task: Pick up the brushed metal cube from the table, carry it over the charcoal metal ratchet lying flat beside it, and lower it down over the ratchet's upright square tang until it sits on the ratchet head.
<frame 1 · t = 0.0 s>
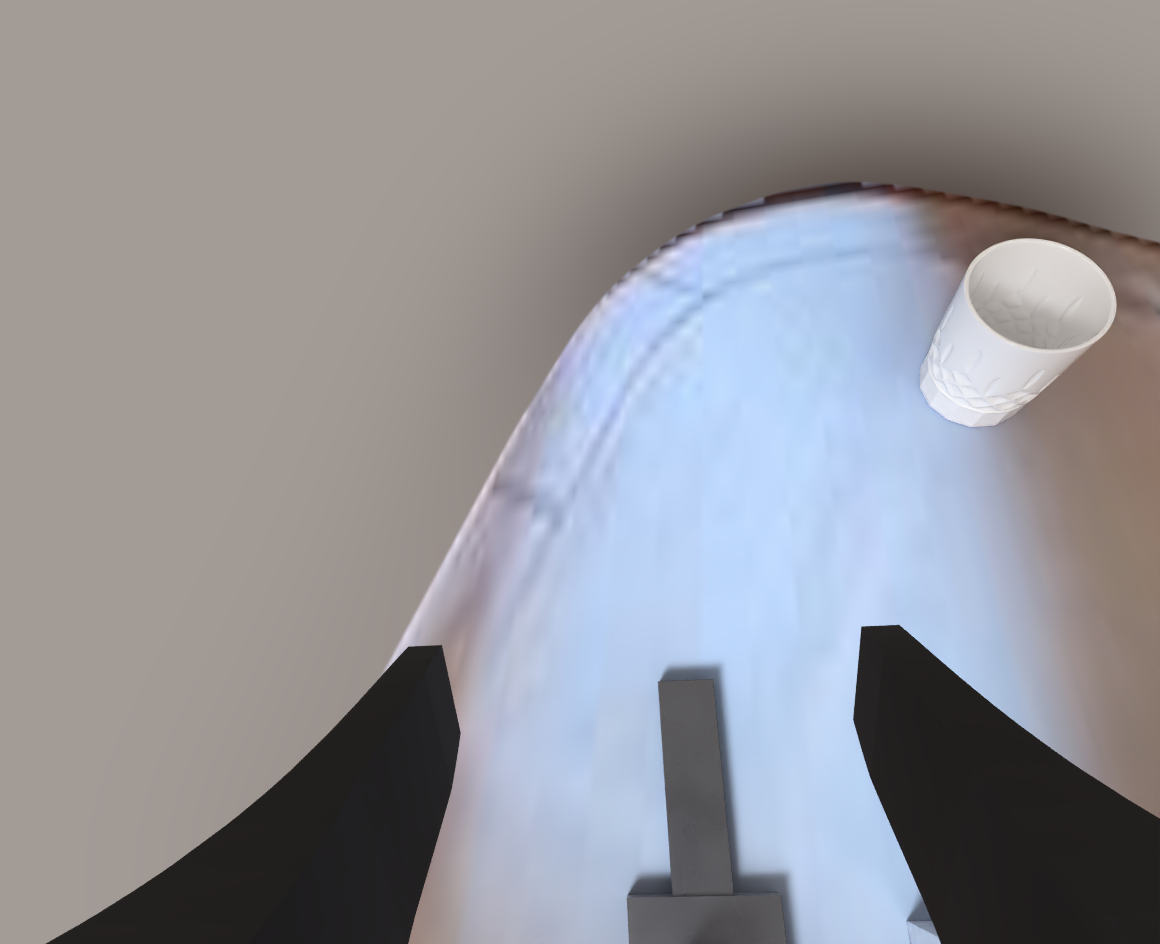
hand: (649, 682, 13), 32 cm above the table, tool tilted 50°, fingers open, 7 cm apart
white cup: (968, 386, 50), on the table
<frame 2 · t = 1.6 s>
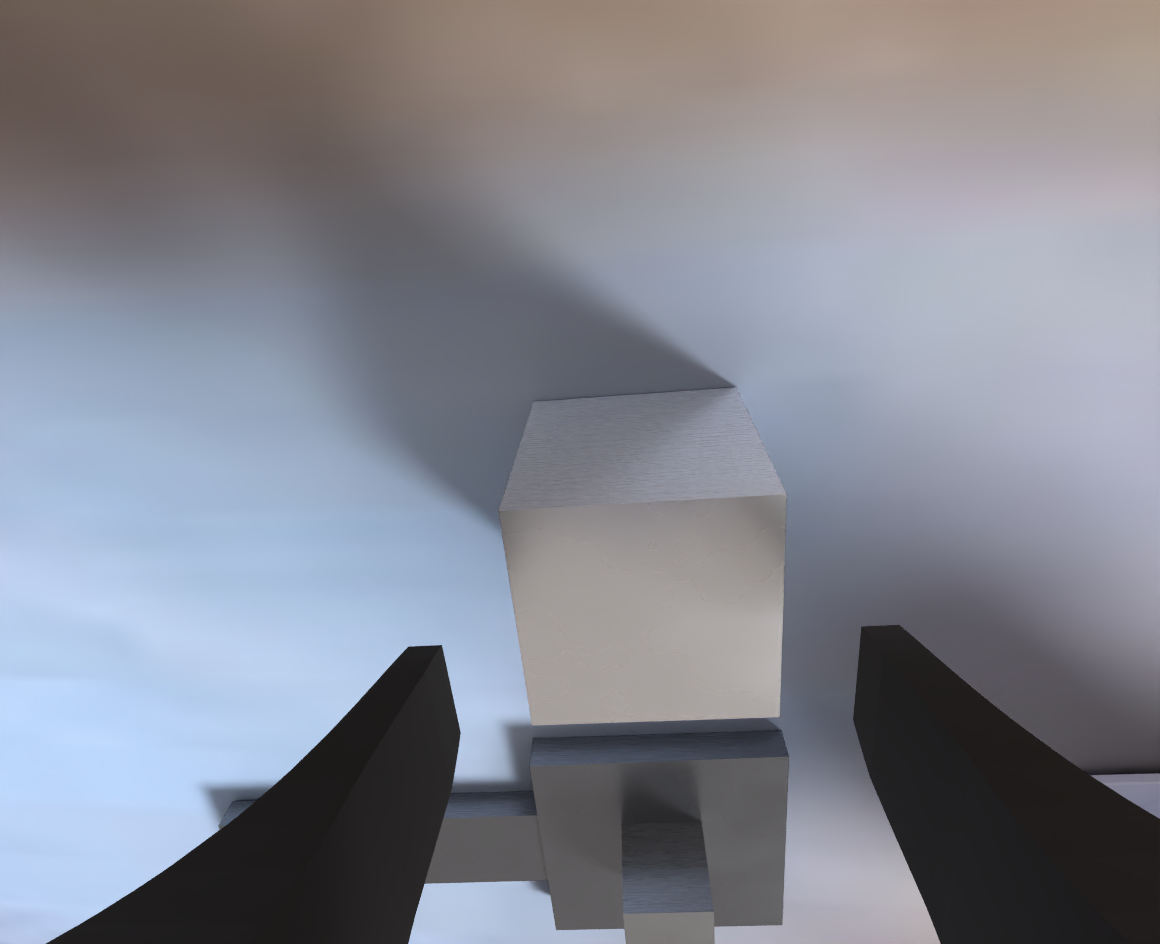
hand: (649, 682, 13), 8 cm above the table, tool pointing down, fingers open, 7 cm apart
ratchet: (660, 819, 25), on the table
brushed metal cube: (639, 485, 20), on the table
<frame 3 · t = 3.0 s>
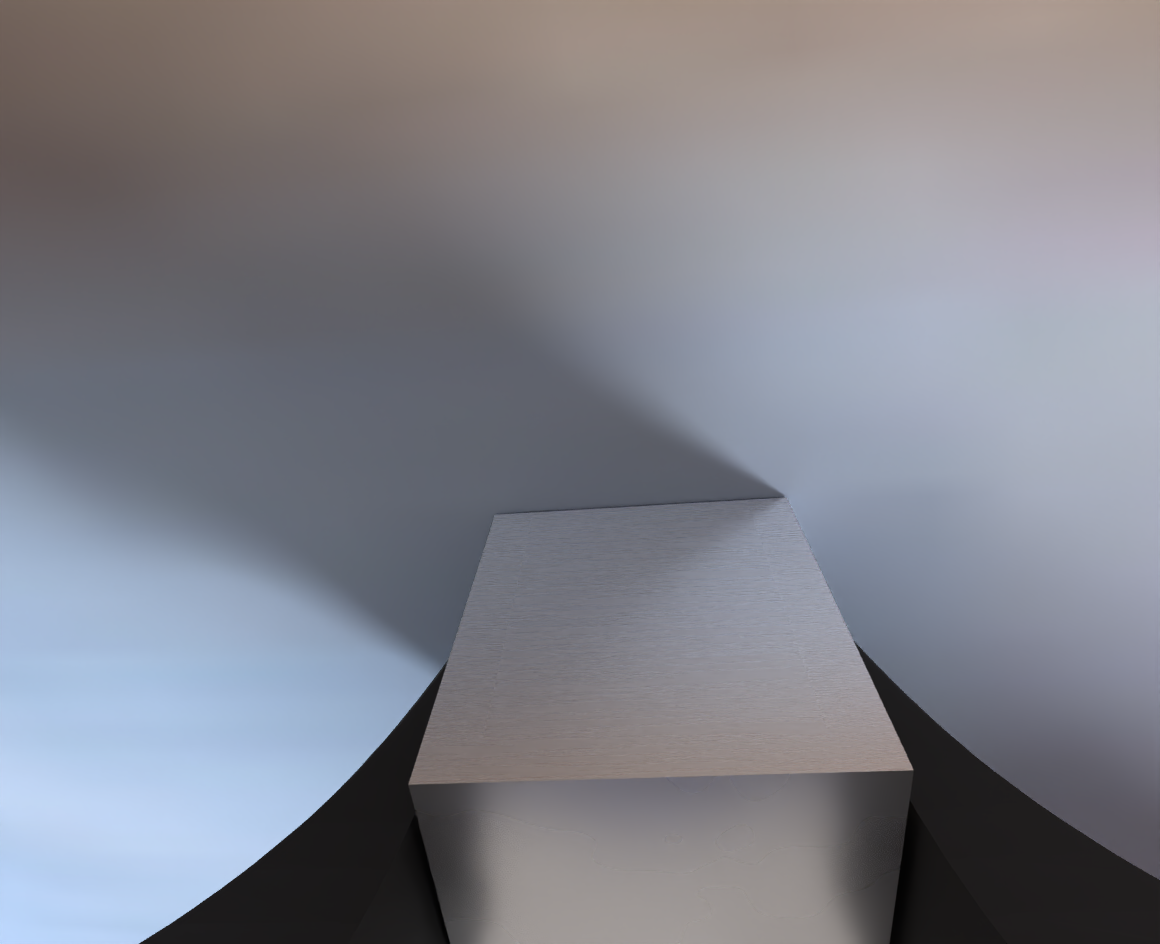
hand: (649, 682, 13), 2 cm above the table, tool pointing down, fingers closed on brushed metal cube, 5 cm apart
brushed metal cube: (646, 624, 14), on the table, touching gripper
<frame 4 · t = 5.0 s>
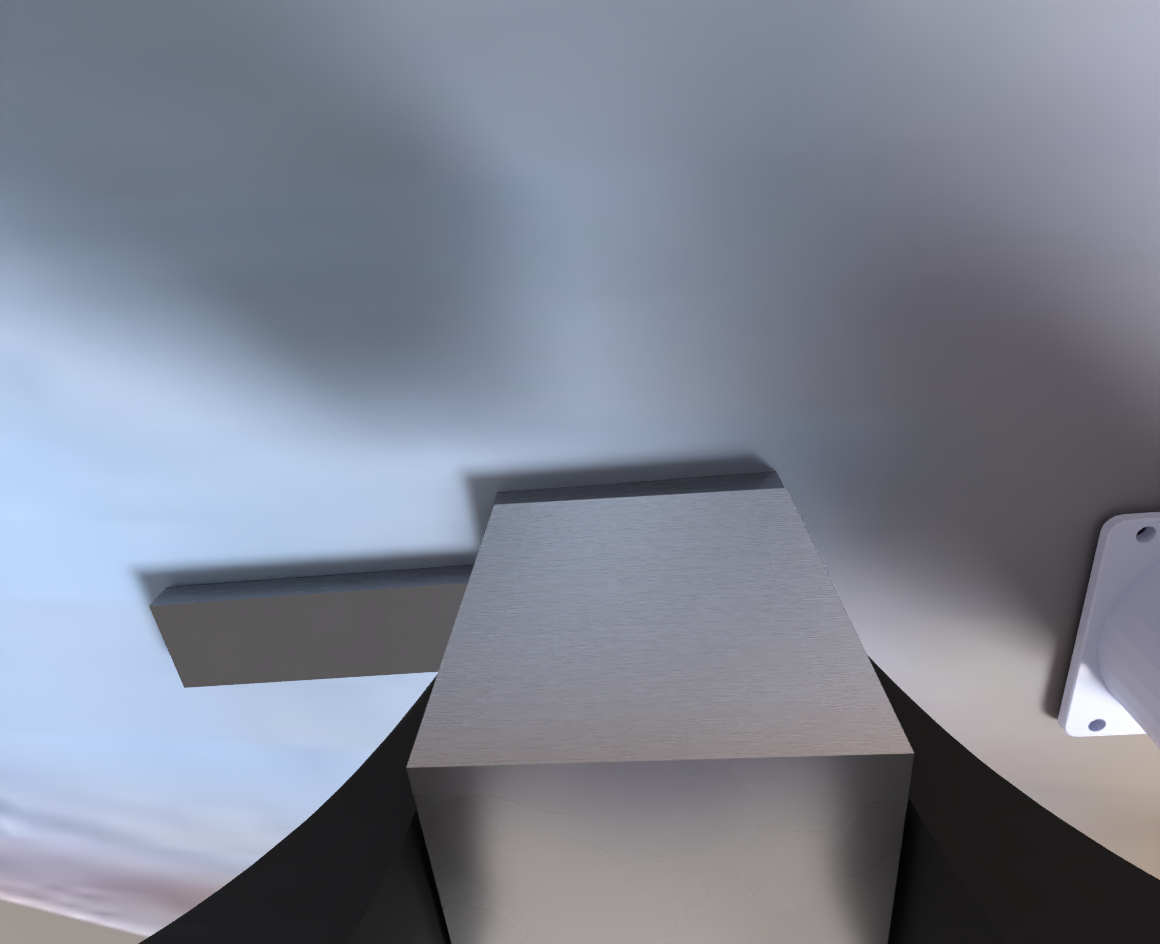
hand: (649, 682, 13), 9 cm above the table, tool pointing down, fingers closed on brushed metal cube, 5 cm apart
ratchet: (643, 596, 23), on the table
brushed metal cube: (645, 616, 14), point 7 cm above the table, touching gripper
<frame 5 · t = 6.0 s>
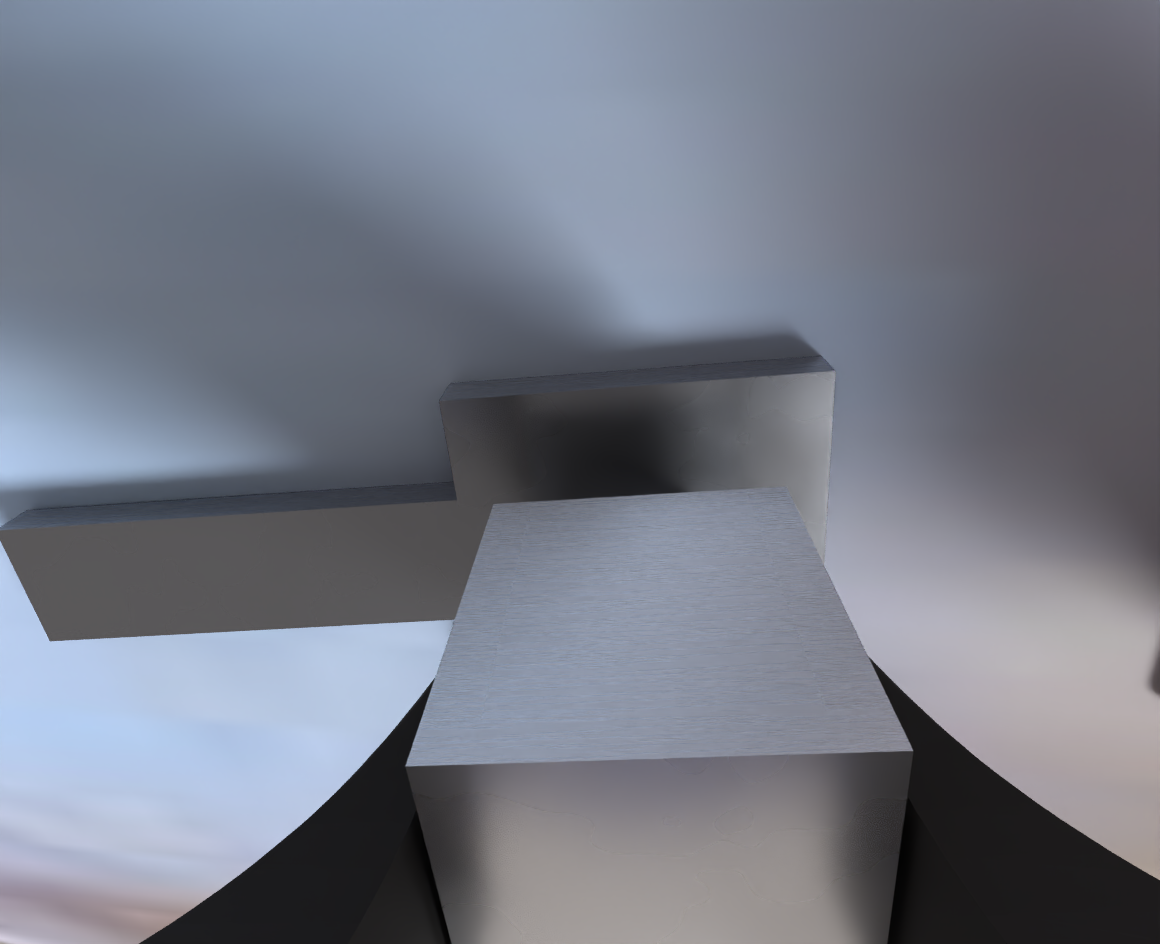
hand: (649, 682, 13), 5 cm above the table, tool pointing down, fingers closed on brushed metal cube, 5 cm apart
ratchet: (641, 529, 17), on the table
brushed metal cube: (645, 615, 14), point 4 cm above the table, touching gripper
when the fingers open (3 cm above the table, at t = 7.0 s): brushed metal cube stays where it is, resting on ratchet.
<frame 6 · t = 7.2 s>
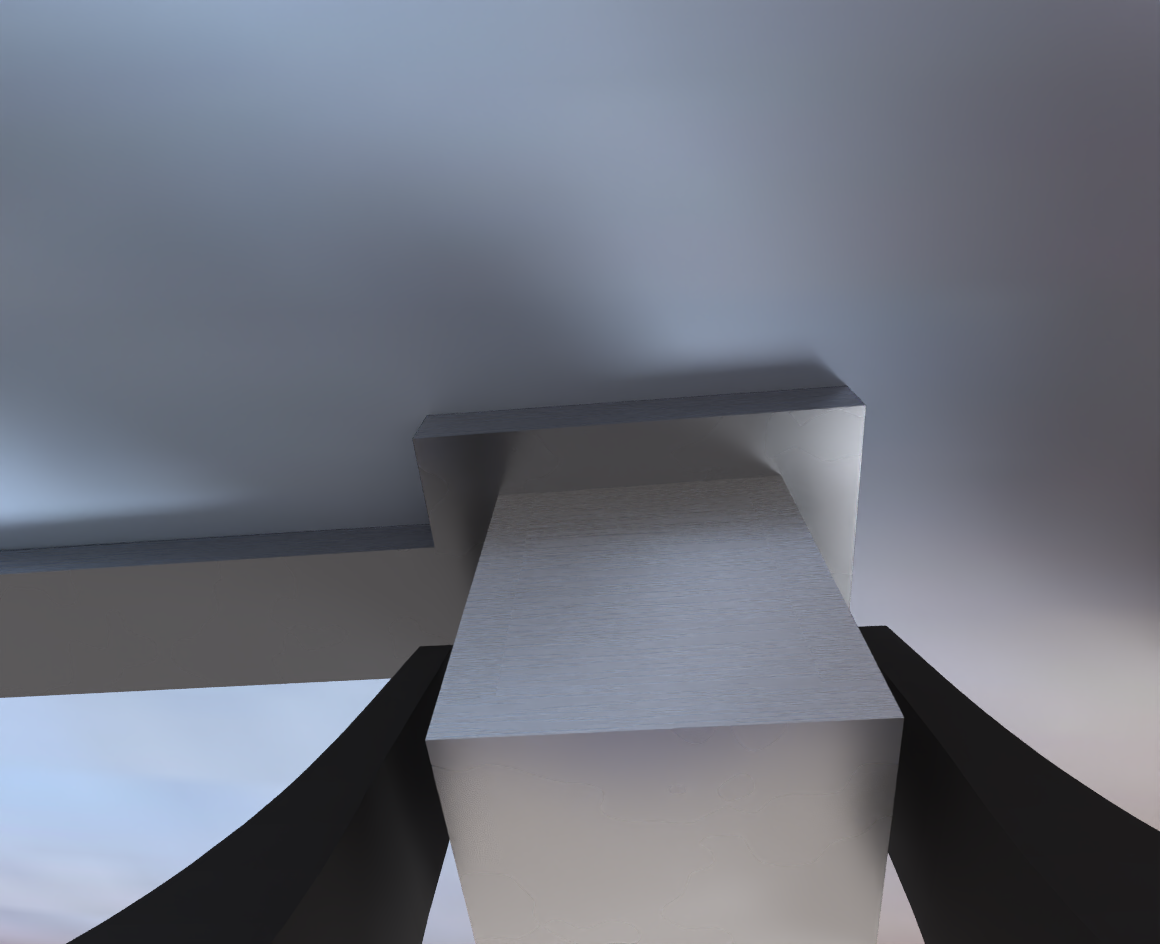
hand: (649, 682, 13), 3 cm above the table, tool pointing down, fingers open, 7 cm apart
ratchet: (643, 575, 16), on the table, touching brushed metal cube
brushed metal cube: (645, 602, 14), point 1 cm above the table, touching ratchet
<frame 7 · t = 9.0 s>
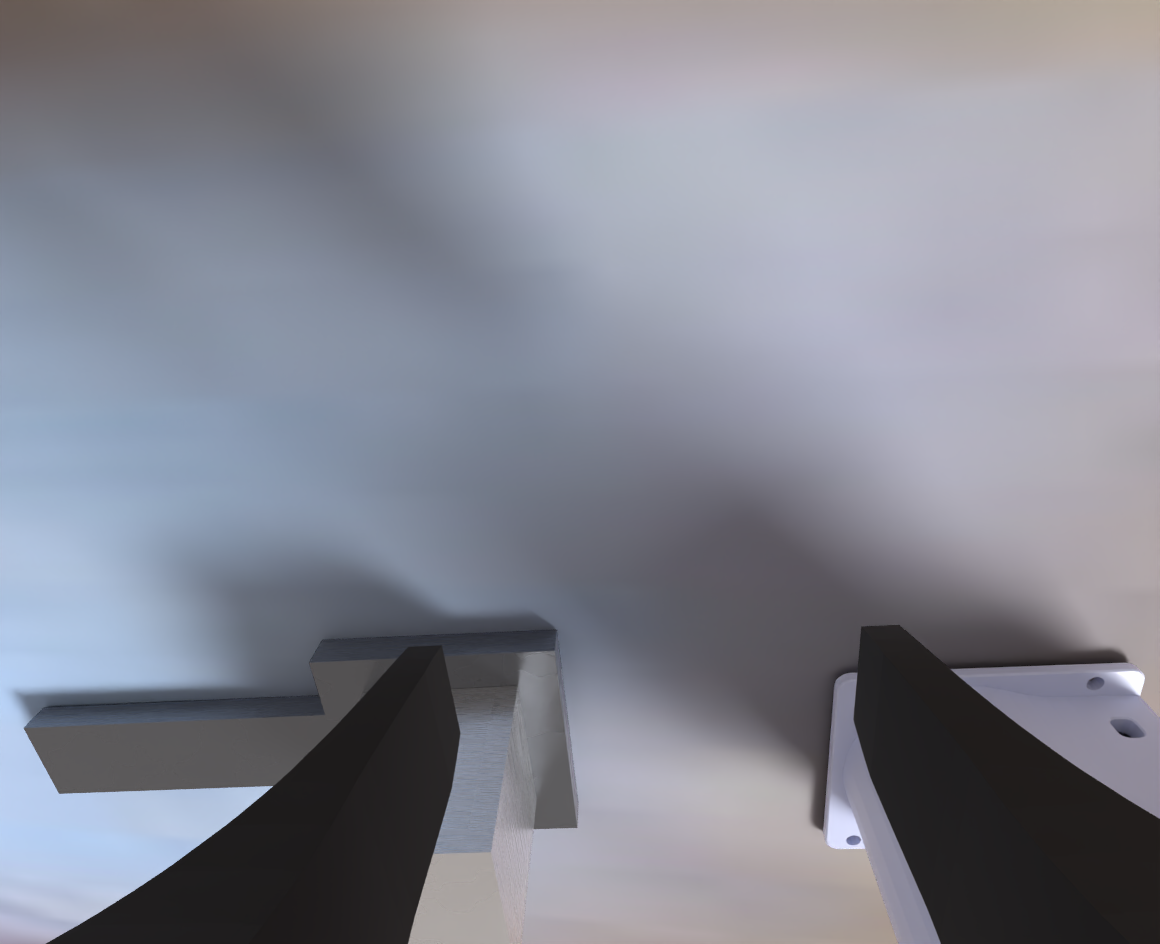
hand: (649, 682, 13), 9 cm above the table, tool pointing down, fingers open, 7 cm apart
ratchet: (457, 724, 26), on the table, touching brushed metal cube
brushed metal cube: (452, 748, 25), point 1 cm above the table, touching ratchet
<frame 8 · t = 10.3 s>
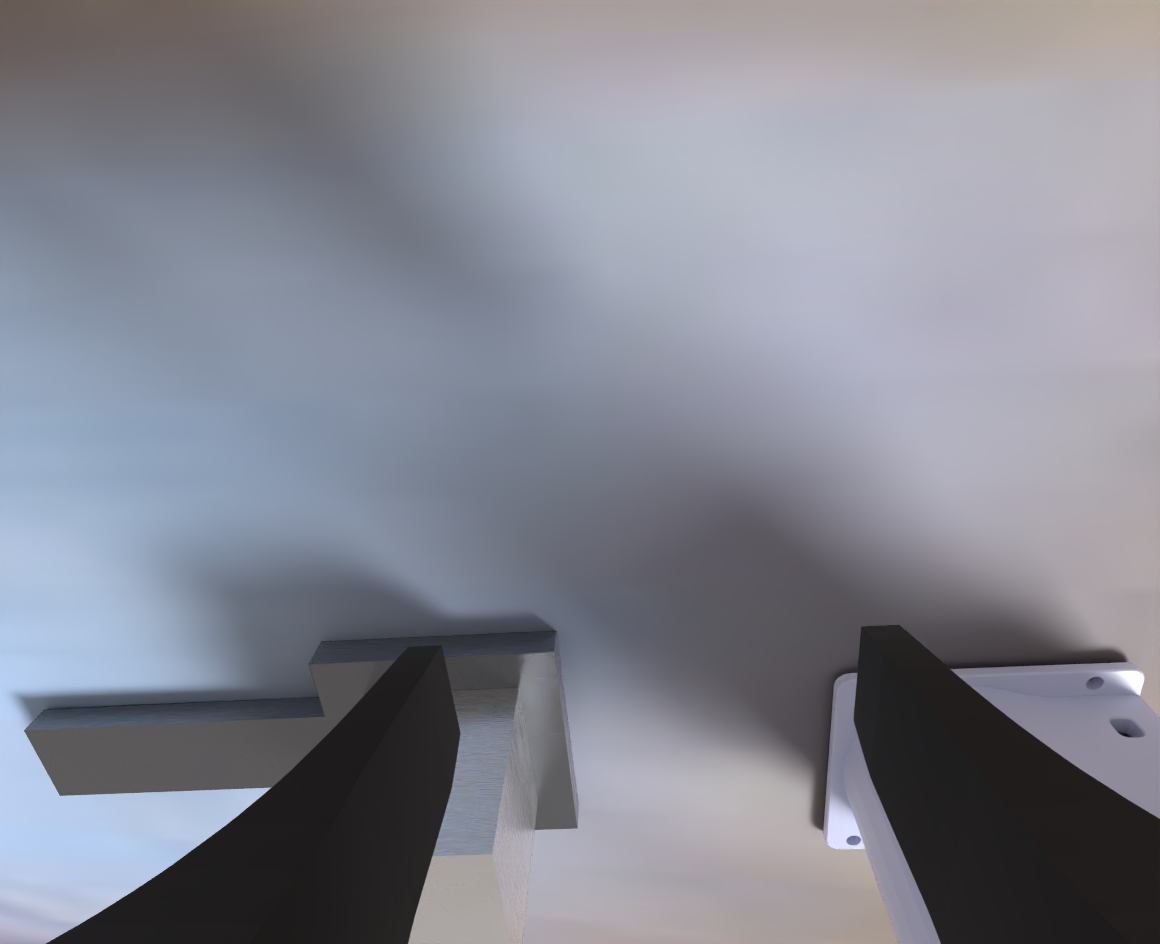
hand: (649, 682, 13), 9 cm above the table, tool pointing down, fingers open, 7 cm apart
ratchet: (457, 725, 26), on the table
brushed metal cube: (453, 750, 25), point 1 cm above the table
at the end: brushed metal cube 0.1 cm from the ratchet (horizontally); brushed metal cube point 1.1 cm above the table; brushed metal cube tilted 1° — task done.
